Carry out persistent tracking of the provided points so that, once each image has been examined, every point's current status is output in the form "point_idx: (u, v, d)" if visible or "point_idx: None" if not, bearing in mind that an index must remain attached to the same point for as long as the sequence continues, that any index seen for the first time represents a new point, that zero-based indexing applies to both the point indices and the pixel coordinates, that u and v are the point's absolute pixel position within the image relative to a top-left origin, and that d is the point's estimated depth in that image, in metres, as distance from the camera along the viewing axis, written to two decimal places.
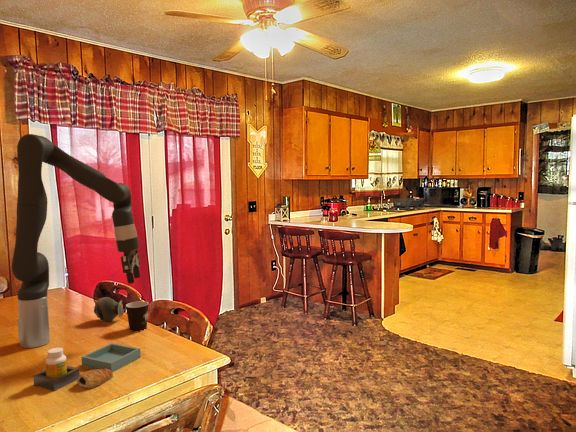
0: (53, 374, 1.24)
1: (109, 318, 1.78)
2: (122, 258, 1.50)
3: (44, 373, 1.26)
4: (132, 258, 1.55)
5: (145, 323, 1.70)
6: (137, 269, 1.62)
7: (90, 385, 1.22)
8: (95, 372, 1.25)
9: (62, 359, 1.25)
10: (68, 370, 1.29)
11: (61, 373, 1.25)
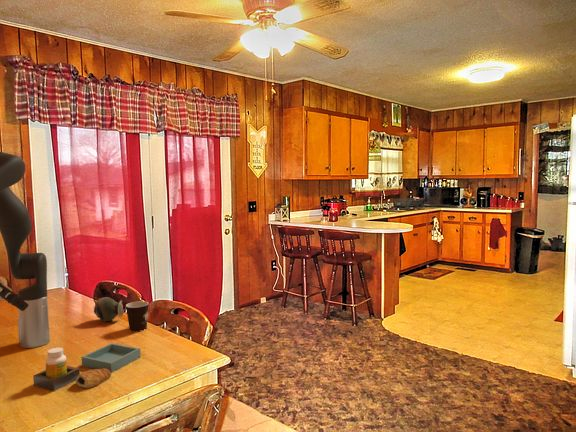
0: (53, 374, 1.24)
1: (109, 318, 1.78)
2: None
3: (44, 373, 1.26)
4: None
5: (145, 323, 1.70)
6: None
7: (89, 385, 1.22)
8: (94, 372, 1.25)
9: (62, 359, 1.25)
10: (68, 370, 1.29)
11: (61, 373, 1.25)
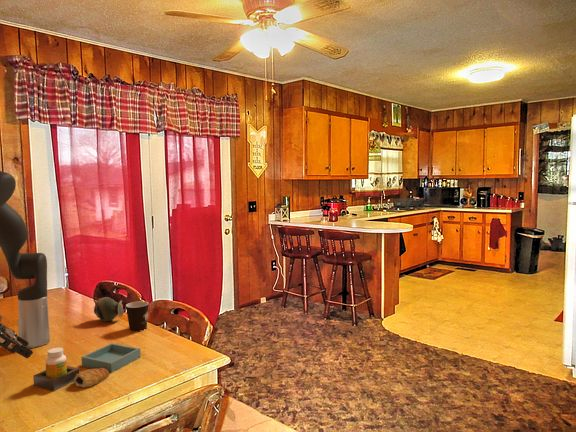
0: (53, 374, 1.24)
1: (109, 318, 1.78)
2: None
3: (44, 373, 1.26)
4: None
5: (145, 323, 1.70)
6: None
7: (87, 384, 1.23)
8: (92, 371, 1.26)
9: (62, 359, 1.25)
10: (68, 370, 1.29)
11: (61, 373, 1.25)
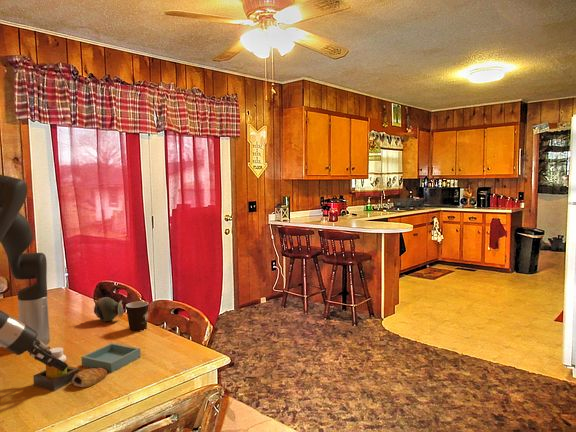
0: (53, 374, 1.24)
1: (109, 318, 1.78)
2: None
3: (44, 373, 1.26)
4: None
5: (145, 323, 1.70)
6: None
7: (86, 384, 1.23)
8: (90, 371, 1.26)
9: (62, 359, 1.25)
10: (68, 370, 1.29)
11: (61, 373, 1.25)
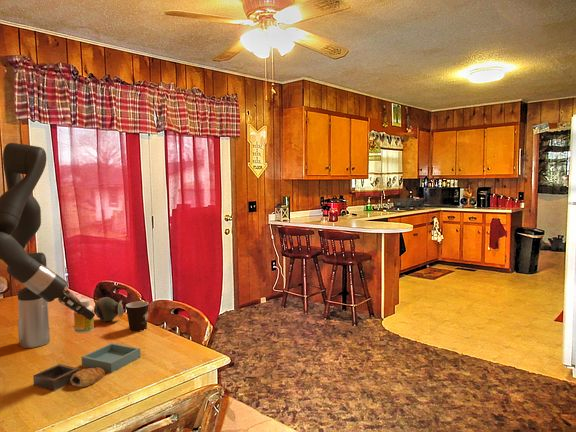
0: (81, 323, 1.30)
1: (109, 318, 1.78)
2: None
3: (44, 373, 1.26)
4: None
5: (145, 323, 1.70)
6: None
7: (85, 384, 1.23)
8: (88, 371, 1.26)
9: (89, 309, 1.31)
10: (68, 370, 1.29)
11: (89, 322, 1.31)
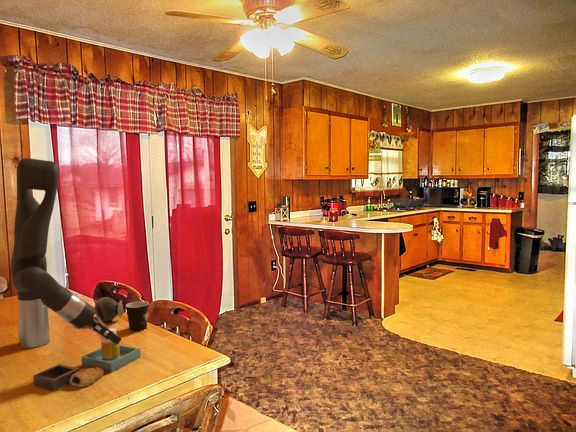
0: (109, 352, 1.37)
1: (109, 318, 1.78)
2: None
3: (44, 373, 1.26)
4: None
5: (145, 323, 1.70)
6: None
7: (85, 383, 1.23)
8: (88, 371, 1.26)
9: None
10: (68, 370, 1.29)
11: (115, 351, 1.39)
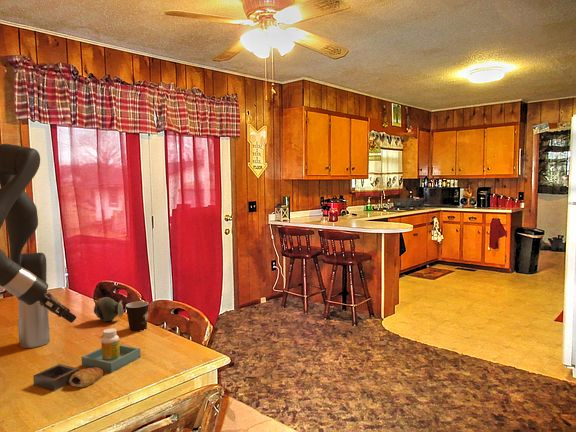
0: (109, 352, 1.37)
1: (109, 318, 1.78)
2: None
3: (44, 373, 1.26)
4: None
5: (145, 323, 1.70)
6: None
7: (85, 384, 1.23)
8: (88, 371, 1.26)
9: (116, 338, 1.39)
10: (68, 370, 1.29)
11: (115, 351, 1.39)
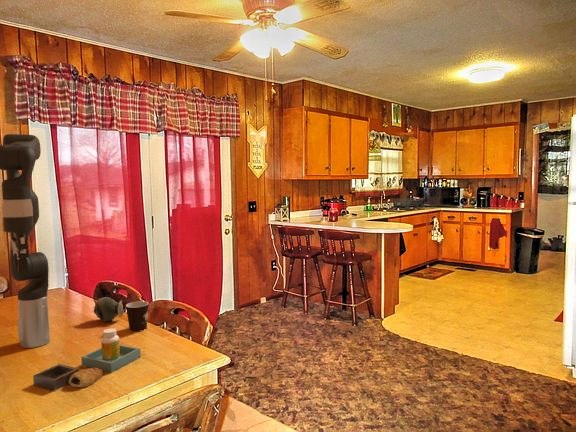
0: (108, 352, 1.37)
1: (109, 318, 1.78)
2: None
3: (44, 373, 1.26)
4: None
5: (145, 323, 1.70)
6: None
7: (85, 384, 1.23)
8: (87, 371, 1.26)
9: (115, 339, 1.39)
10: (68, 370, 1.29)
11: (115, 351, 1.39)
